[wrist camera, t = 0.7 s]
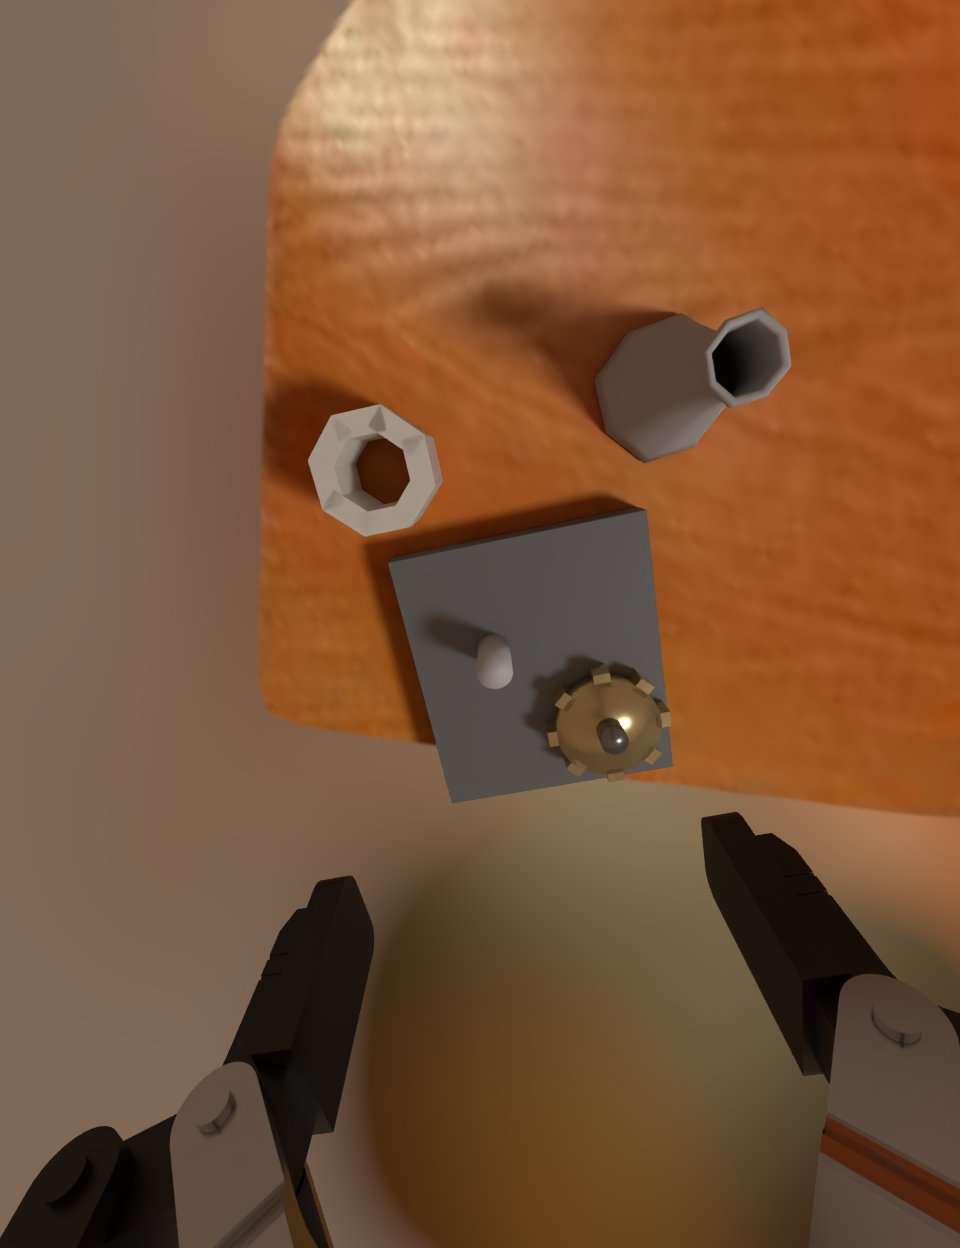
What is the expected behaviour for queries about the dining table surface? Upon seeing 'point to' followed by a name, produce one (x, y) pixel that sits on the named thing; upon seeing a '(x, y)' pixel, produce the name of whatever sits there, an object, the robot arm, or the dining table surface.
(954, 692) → the dining table surface
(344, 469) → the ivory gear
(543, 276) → the dining table surface
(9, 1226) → the robot arm
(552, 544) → the board
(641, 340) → the flask
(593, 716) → the brass gear
